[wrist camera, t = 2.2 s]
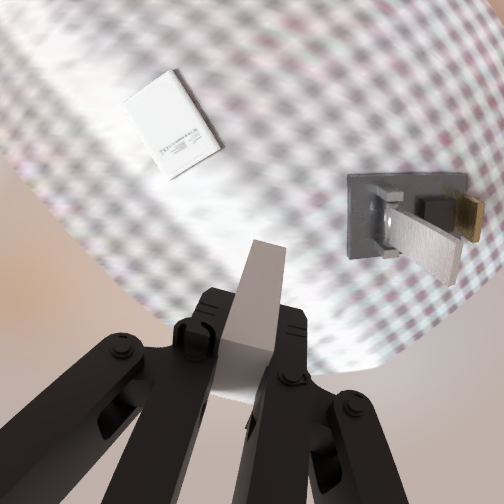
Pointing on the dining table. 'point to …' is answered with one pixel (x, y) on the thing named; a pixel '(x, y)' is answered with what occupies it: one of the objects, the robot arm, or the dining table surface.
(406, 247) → the strap
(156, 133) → the external hard drive
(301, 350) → the robot arm
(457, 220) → the latch board
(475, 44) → the dining table surface
